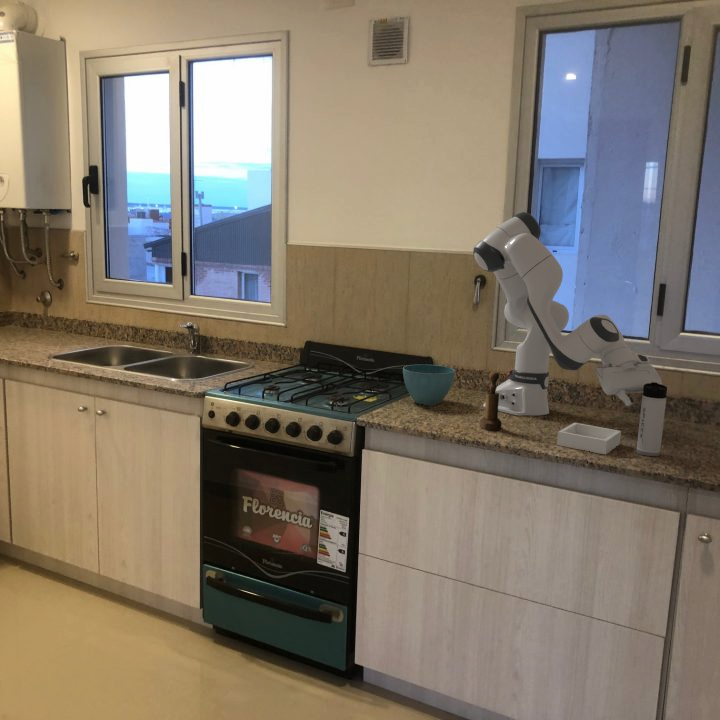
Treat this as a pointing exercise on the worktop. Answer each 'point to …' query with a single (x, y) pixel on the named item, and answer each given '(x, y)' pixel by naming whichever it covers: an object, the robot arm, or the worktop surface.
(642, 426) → the travel mug
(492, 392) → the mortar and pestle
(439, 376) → the teal bowl
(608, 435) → the tray
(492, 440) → the worktop surface
